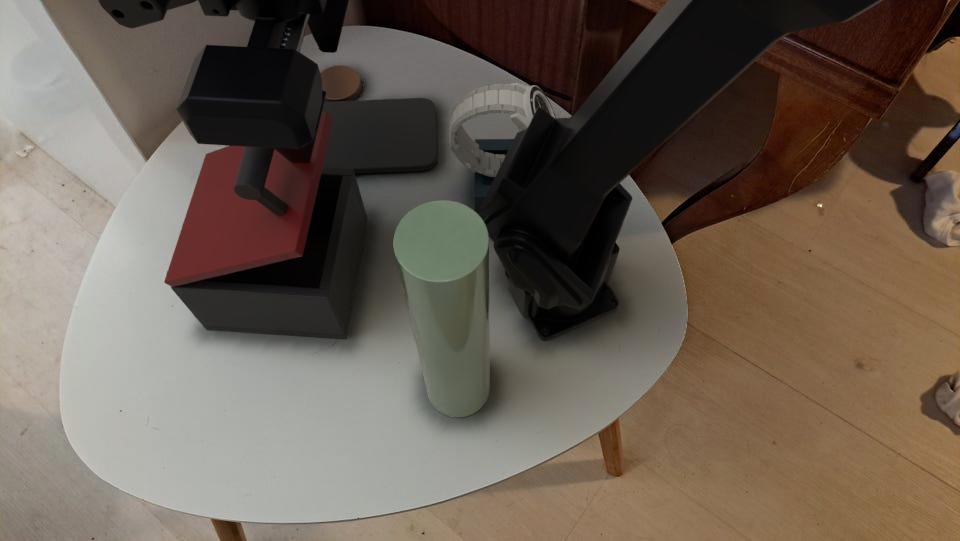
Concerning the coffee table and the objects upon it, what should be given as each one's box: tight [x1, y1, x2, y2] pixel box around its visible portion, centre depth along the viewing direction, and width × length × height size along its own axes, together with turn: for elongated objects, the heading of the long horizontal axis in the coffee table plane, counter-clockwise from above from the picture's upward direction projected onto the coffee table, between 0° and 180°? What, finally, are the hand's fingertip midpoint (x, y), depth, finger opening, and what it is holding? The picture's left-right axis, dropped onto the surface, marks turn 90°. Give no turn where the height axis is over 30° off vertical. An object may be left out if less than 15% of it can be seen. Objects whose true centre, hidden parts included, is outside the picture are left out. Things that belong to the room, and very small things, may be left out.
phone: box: [322, 97, 438, 175], centre depth 61 cm, size 7×1×15 cm
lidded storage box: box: [170, 167, 368, 340], centre depth 52 cm, size 10×10×7 cm
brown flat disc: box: [320, 65, 363, 102], centre depth 64 cm, size 4×4×1 cm
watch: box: [448, 82, 557, 220], centre depth 54 cm, size 6×8×11 cm
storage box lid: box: [163, 112, 334, 288], centre depth 45 cm, size 11×10×4 cm
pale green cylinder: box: [392, 199, 491, 418], centre depth 42 cm, size 4×4×20 cm
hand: (316, 103), depth 46 cm, fingers open, 9 cm apart
